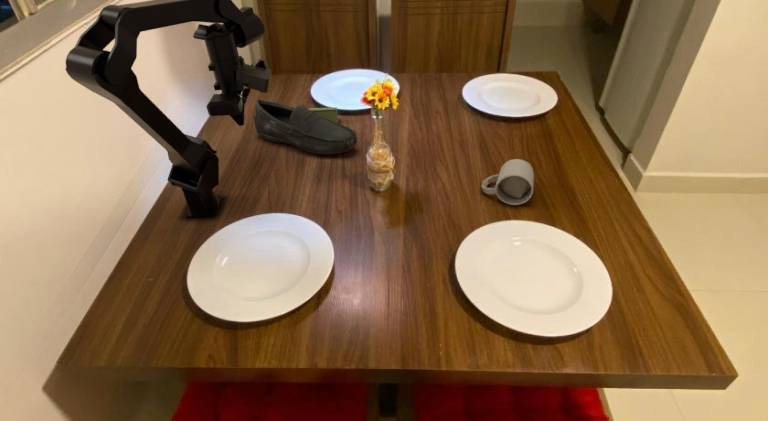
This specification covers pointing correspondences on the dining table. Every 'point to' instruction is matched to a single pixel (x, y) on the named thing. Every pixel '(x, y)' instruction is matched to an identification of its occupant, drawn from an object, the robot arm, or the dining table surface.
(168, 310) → the dining table surface
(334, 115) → the rail
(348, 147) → the loafer
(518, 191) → the ceramic mug
